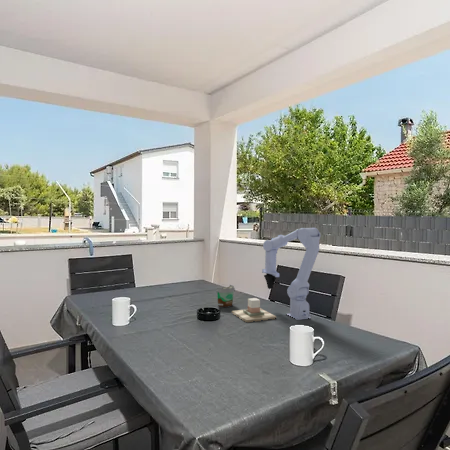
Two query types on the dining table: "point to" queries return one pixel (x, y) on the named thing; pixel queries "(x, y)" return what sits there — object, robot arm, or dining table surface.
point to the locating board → (253, 315)
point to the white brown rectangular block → (253, 305)
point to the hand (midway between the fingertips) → (270, 288)
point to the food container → (225, 296)
